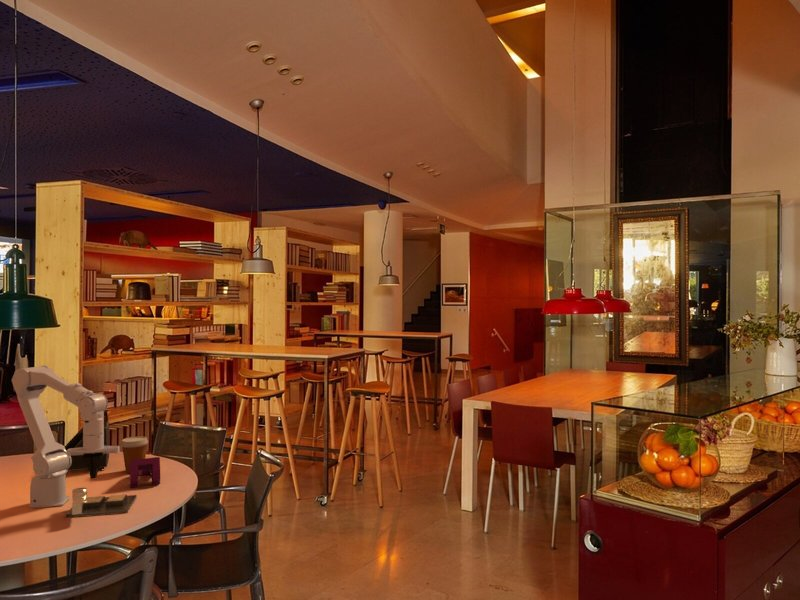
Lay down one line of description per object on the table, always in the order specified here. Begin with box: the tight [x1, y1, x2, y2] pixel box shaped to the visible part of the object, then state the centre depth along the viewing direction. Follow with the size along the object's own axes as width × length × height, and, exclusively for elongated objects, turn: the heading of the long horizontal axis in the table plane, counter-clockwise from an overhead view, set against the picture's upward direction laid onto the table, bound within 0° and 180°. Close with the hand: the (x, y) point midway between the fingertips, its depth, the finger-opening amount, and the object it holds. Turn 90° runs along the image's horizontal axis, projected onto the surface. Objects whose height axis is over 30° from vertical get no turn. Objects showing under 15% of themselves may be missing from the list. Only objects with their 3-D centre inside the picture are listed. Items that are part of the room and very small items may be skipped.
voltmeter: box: [64, 411, 110, 474], centre depth 235 cm, size 16×16×20 cm
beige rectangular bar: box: [71, 487, 88, 515], centre depth 182 cm, size 16×4×3 cm, turn 25°
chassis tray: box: [65, 494, 137, 518], centre depth 189 cm, size 17×14×3 cm
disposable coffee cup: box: [120, 436, 149, 474], centre depth 230 cm, size 10×10×12 cm
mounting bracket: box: [128, 456, 161, 488], centre depth 217 cm, size 10×8×18 cm
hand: (93, 477), depth 189 cm, fingers closed
